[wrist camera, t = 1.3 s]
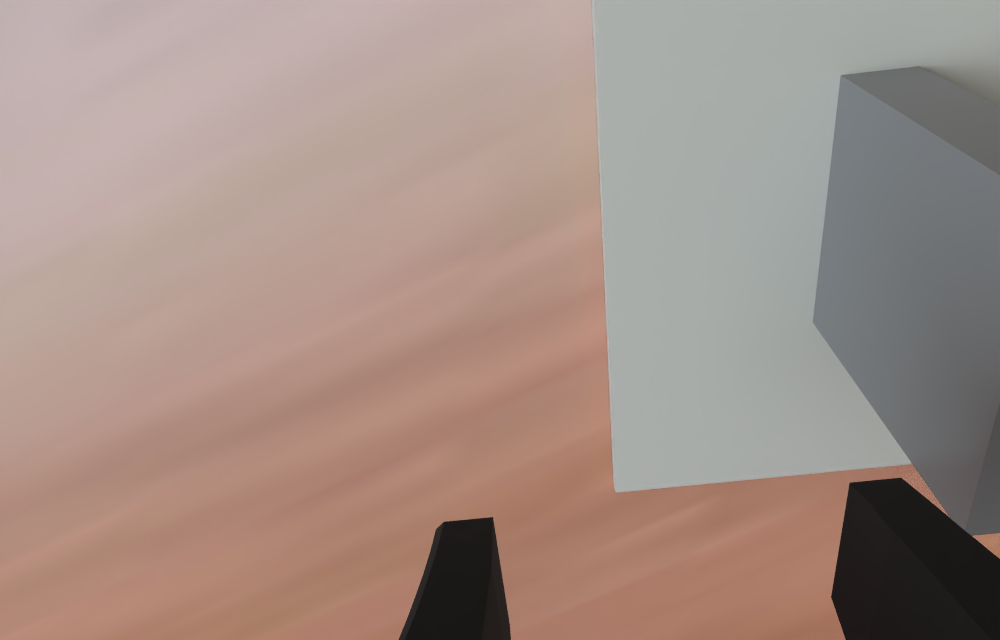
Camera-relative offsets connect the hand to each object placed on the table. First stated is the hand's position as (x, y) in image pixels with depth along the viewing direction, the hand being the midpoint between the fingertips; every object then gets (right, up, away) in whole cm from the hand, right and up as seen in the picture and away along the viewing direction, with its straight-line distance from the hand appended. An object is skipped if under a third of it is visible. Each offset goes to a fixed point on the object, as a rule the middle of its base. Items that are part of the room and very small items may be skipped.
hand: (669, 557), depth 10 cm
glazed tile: (+6, +6, +8) cm, 12 cm away
